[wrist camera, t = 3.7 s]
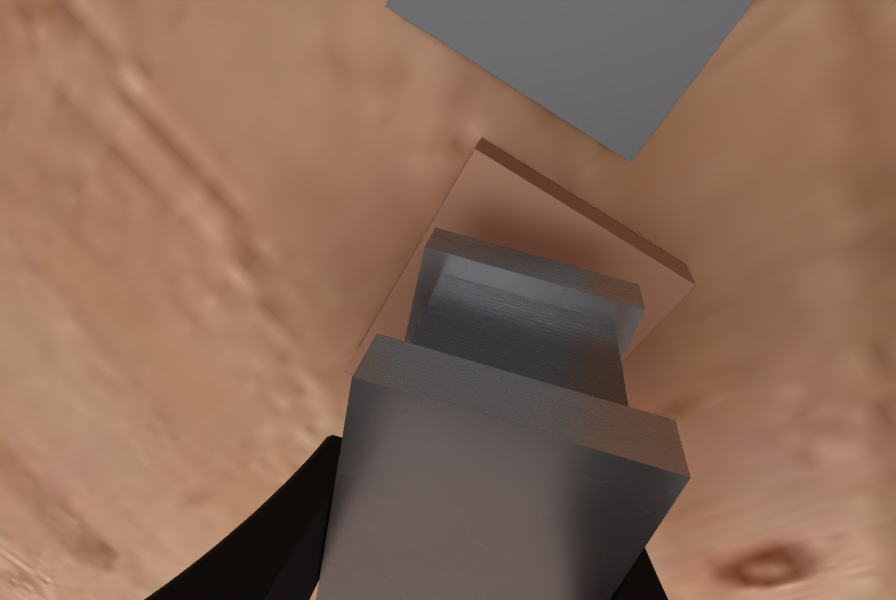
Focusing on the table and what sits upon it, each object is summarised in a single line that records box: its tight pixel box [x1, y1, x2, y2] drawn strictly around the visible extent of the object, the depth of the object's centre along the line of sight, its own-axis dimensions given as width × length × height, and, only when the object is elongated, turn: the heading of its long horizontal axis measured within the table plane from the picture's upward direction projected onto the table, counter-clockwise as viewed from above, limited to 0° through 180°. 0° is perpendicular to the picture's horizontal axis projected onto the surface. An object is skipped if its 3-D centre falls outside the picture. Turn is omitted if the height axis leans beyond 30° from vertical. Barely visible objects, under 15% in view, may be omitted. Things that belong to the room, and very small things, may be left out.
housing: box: [316, 227, 690, 600], centre depth 12 cm, size 5×7×6 cm
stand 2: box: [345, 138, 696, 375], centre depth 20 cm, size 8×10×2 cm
